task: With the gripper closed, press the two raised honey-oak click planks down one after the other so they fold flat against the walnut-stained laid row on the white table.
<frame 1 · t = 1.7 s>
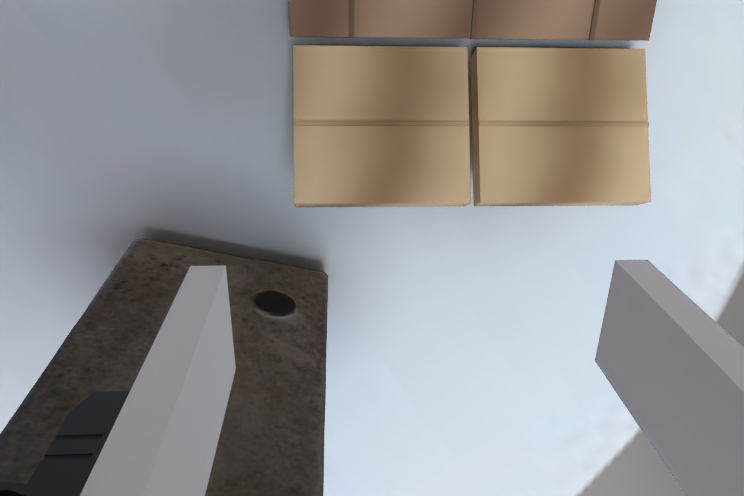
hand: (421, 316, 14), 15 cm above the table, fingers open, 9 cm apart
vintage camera: (221, 368, 33), on the table
oak plank a: (381, 127, 25), point 2 cm above the table, hinge at 28.0°
oak plank b: (559, 127, 26), point 2 cm above the table, hinge at 28.0°
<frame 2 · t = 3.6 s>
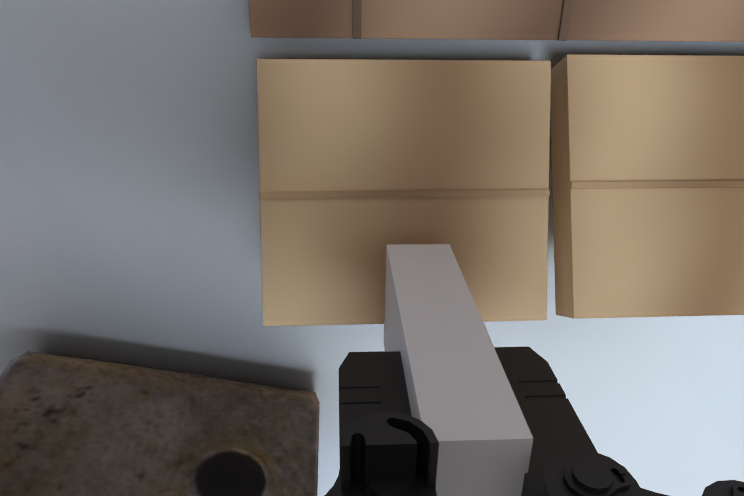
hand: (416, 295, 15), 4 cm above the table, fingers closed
oak plank a: (403, 194, 15), point 2 cm above the table, hinge at 21.1°, touching gripper
oak plank b: (697, 187, 16), point 2 cm above the table, hinge at 28.0°
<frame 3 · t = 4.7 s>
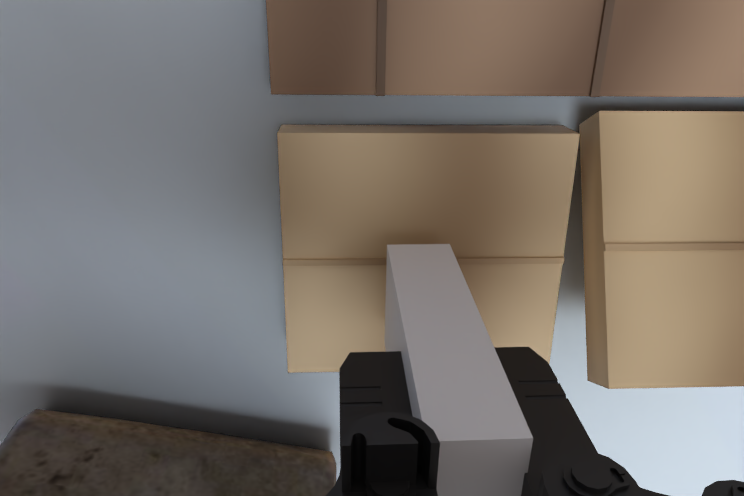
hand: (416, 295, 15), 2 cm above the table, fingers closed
oak plank a: (421, 252, 16), point 1 cm above the table, hinge at 3.4°
oak plank b: (737, 248, 15), point 2 cm above the table, hinge at 28.0°
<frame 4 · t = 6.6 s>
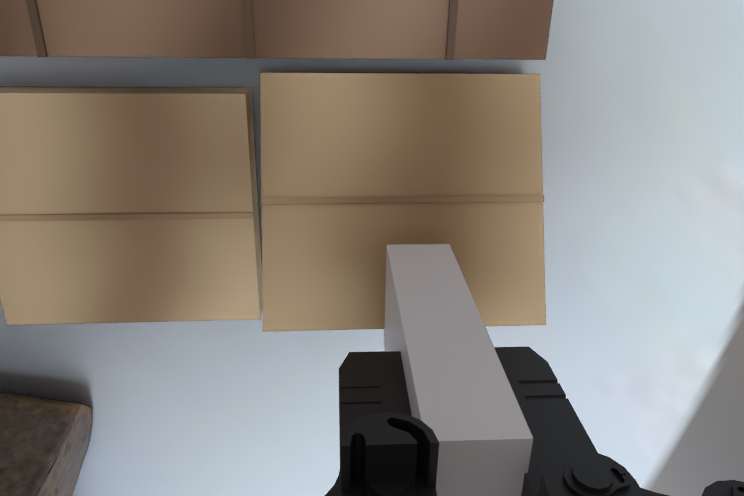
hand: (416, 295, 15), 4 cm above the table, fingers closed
oak plank a: (125, 209, 17), point 1 cm above the table, hinge at 3.3°
oak plank b: (401, 202, 16), point 2 cm above the table, hinge at 27.0°, touching gripper
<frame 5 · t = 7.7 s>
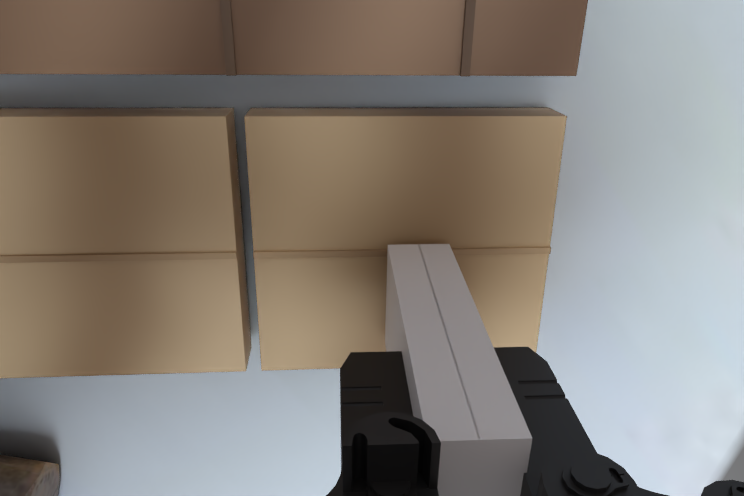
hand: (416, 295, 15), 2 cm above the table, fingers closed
oak plank a: (89, 248, 15), point 1 cm above the table, hinge at 3.3°
oak plank b: (401, 243, 15), point 1 cm above the table, hinge at 3.2°, touching gripper
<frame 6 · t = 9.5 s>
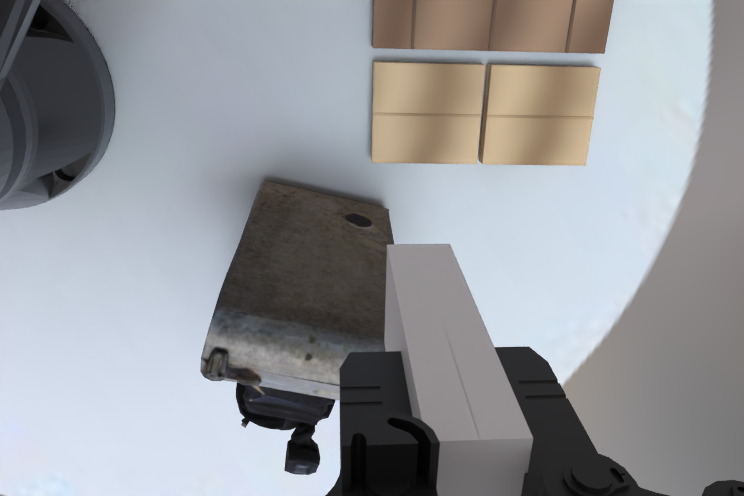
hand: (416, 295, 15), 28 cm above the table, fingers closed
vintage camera: (307, 279, 46), on the table
oak plank a: (426, 113, 40), point 1 cm above the table, hinge at 3.3°
oak plank b: (537, 115, 41), point 1 cm above the table, hinge at 3.0°
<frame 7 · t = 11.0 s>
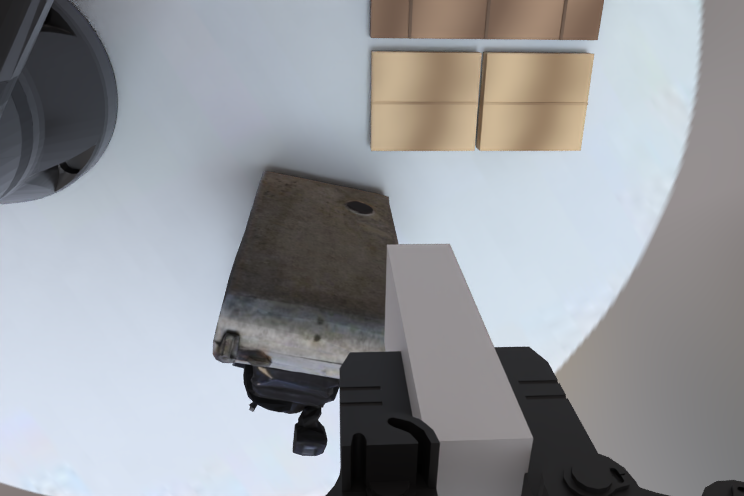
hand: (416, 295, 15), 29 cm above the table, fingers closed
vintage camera: (309, 267, 47), on the table
oak plank a: (424, 102, 41), point 1 cm above the table, hinge at 3.3°
oak plank b: (533, 102, 42), point 1 cm above the table, hinge at 3.0°
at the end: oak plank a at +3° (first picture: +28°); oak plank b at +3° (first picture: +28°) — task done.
